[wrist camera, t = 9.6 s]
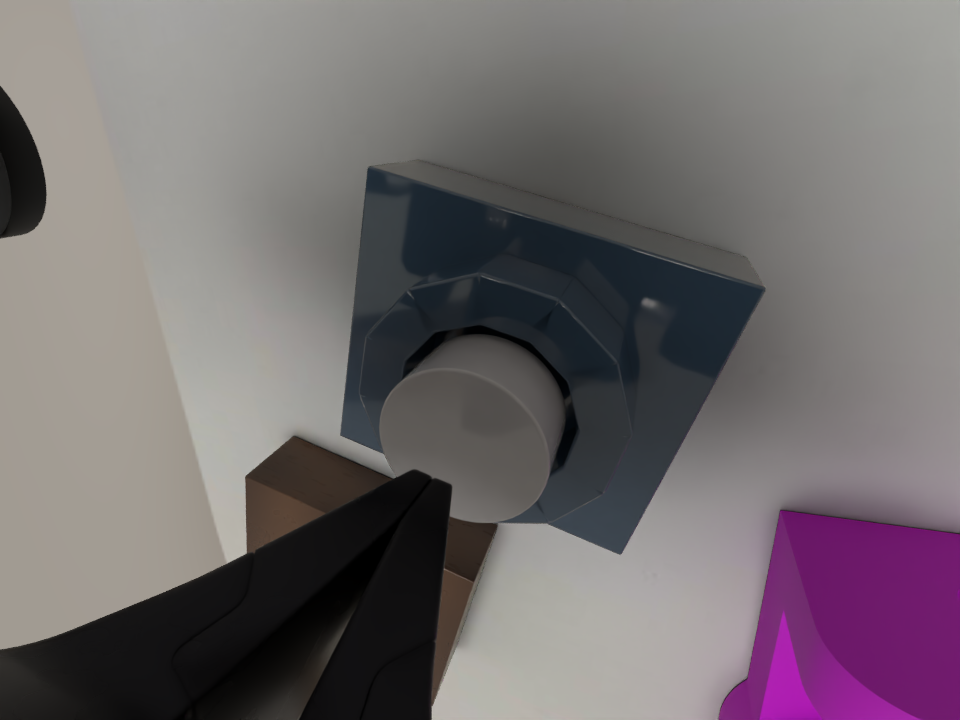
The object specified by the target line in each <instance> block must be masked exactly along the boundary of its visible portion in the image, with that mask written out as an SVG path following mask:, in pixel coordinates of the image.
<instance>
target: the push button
mask: <svg viewBox="0 0 960 720" xmlns="http://www.w3.org/2000/svg"><path fill="white" fill-rule="evenodd" d="M565 424H566V408H565V402H564V398H563V395H562V392H561V389H560V387H559V385H558V383H557V381H556V379H555V378H554V376H553V375H552V373H551V372H550V370H549V369H548V368H547V367H546V366H545V364H544V363H543V362H542V361H541V360H540V359H538V358H537V357H536V356H535V355H534V354H533V353H531V352H530V351H528V350H527V349H526V348H524V347H522V346H520V345H519V344H517V343H515V342H512V341H510V340H508V339H504V338H501V337H498V336H493V335H486V334H469V335H462V336H458V337H455V338H452V339H450V340H447V341H445V342H444V343H442V344H440V345H439V346H437V347H436V348H435V349H434V350H432V351H431V352H430V353H429V354H428V355H427V356H426V357H425V358H424V359H423V360H422V361H421V362H420V363H419V364H418V365H417V366H416V367H415V368H414V369H413V370H412V371H410V372H409V373H408V374H407V375H406V376H405V377H404V378H403V379H402V380H401V381H400V382H399V383H398V384H397V385H396V386H395V387H394V388H393V389H392V391H391V392H390V393H389V395H388V397H387V398H386V400H385V402H384V405H383V407H382V411H381V416H380V424H379V432H380V440H381V445H382V449H383V452H384V455H385V457H386V459H387V461H388V463H389V465H390V467H391V469H392V470H393V472H394V474H395V475H396V476H397V477H398V476H400V475H402V474H404V473H406V472H408V471H410V470H412V469H417V470H419V471H422V472H424V473H426V474H429V475H430V476H431V477H432V479H433V478H438V479H440V480H443V481H445V482H447V483H450V484H451V485H452V487H453V488H452V499H451V508H450V517H453V518H456V519H459V520H463V521H469V522H476V523H494V522H500V521H504V520H508V519H511V518H513V517H516V516H518V515H520V514H522V513H523V512H524V511H526V510H527V509H529V508H530V507H531V506H532V505H533V504H534V503H535V502H536V501H537V500H538V499H539V497H540V496H541V495H542V493H543V491H544V489H545V487H546V485H547V482H548V479H549V476H550V473H551V470H552V467H553V464H554V461H555V458H556V455H557V452H558V449H559V446H560V443H561V440H562V436H563V433H564V430H565Z"/></svg>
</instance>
